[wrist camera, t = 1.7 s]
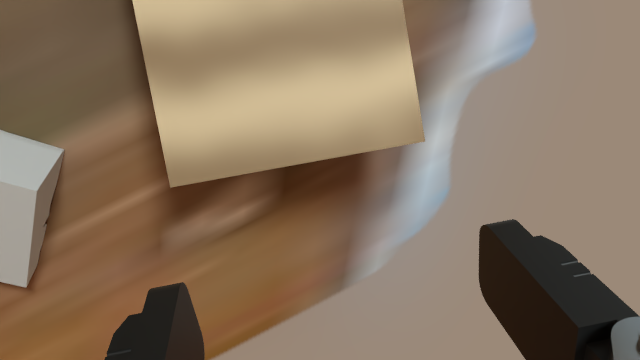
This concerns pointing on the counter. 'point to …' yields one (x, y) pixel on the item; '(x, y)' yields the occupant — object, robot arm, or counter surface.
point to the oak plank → (276, 82)
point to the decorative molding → (24, 203)
